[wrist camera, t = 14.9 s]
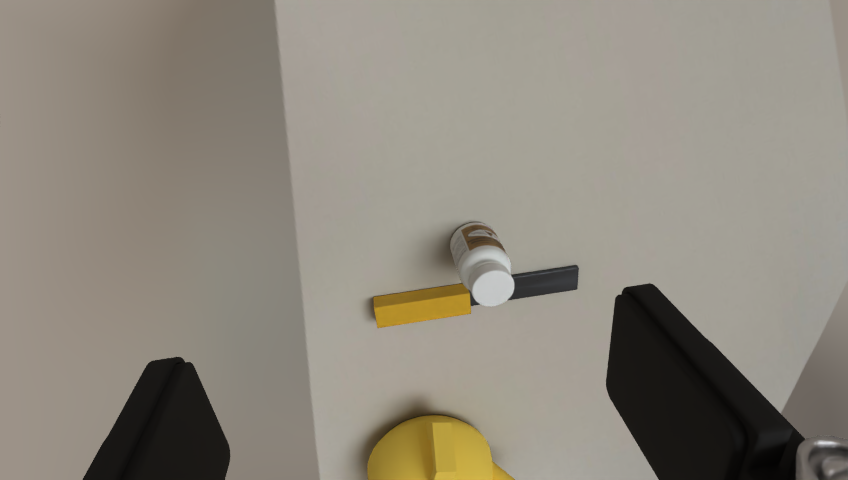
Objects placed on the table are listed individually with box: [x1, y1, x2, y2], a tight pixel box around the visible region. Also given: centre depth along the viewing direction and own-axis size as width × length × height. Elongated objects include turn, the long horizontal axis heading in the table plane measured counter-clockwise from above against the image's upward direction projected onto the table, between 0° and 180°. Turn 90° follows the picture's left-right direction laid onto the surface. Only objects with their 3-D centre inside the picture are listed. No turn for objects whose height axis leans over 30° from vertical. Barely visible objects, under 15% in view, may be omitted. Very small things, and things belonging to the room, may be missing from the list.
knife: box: [373, 265, 579, 328], centre depth 47 cm, size 20×3×2 cm, turn 96°
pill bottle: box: [450, 222, 514, 307], centre depth 41 cm, size 4×4×8 cm
